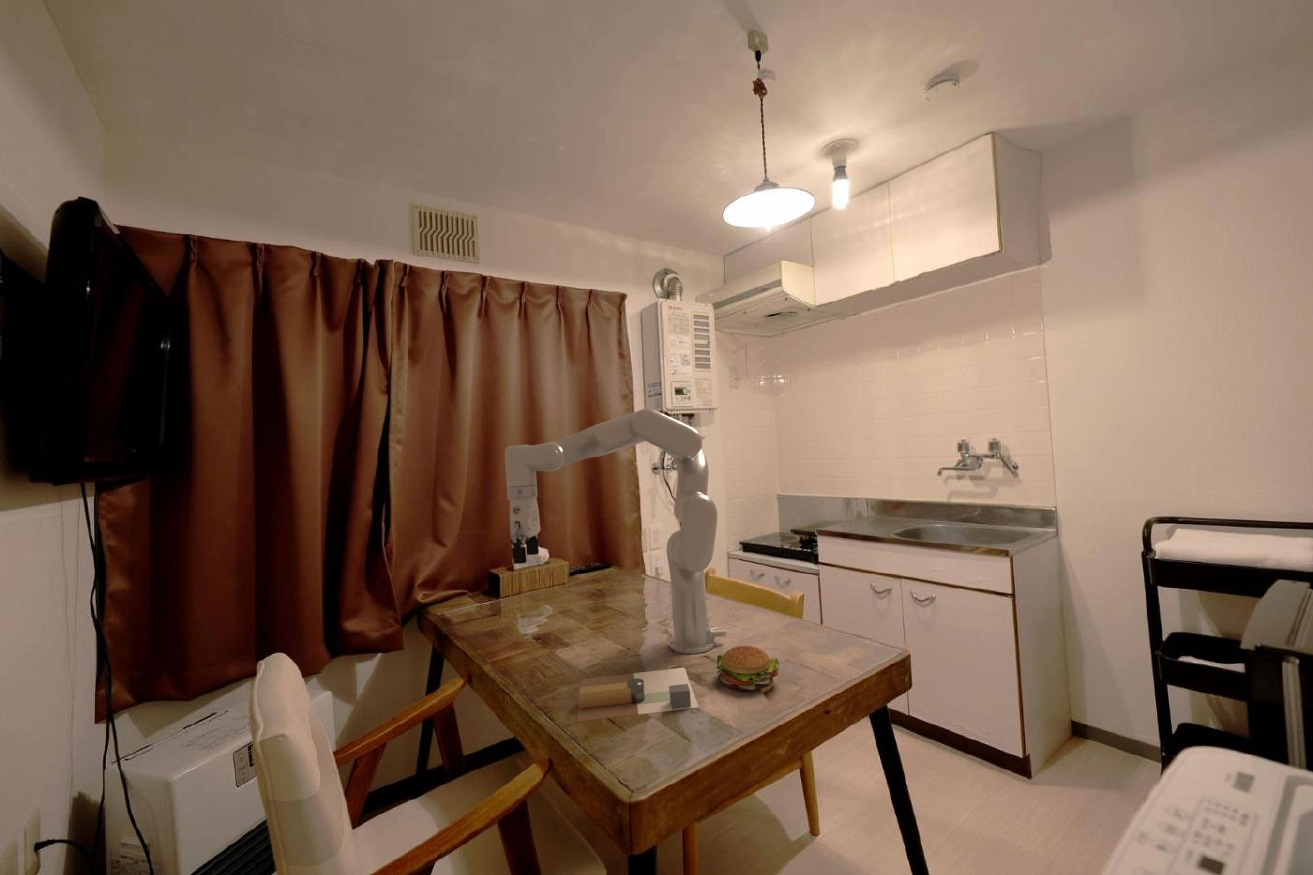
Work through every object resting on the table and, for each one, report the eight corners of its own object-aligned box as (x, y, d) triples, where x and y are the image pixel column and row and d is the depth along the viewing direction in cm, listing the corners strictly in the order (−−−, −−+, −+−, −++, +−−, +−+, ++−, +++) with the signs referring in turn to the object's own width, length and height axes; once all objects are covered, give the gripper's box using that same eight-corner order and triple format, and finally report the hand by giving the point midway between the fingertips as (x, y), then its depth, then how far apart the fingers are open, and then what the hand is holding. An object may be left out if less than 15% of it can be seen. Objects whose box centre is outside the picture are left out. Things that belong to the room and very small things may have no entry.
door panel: (684, 672, 125) (683, 653, 125) (698, 712, 106) (697, 690, 106) (581, 684, 122) (580, 664, 122) (577, 727, 103) (575, 704, 103)
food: (793, 686, 114) (790, 650, 114) (743, 705, 108) (740, 667, 108) (754, 664, 126) (751, 632, 126) (706, 680, 120) (704, 646, 120)
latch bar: (644, 693, 112) (643, 677, 112) (645, 702, 109) (644, 685, 109) (581, 701, 111) (580, 684, 111) (580, 709, 107) (579, 692, 108)
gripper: (525, 495, 123) (529, 566, 123) (546, 488, 141) (550, 550, 140) (495, 497, 124) (499, 567, 124) (519, 490, 141) (523, 552, 141)
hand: (526, 558), depth 132 cm, fingers open, 9 cm apart
